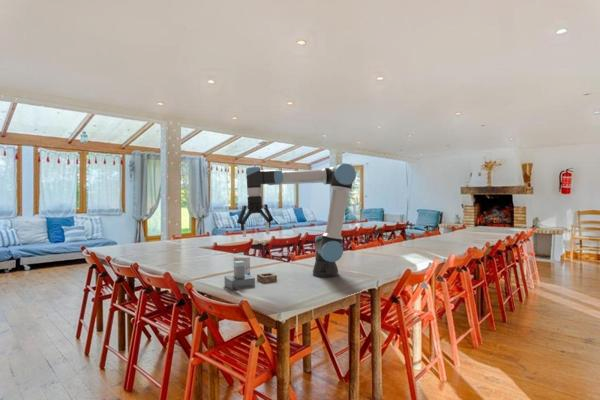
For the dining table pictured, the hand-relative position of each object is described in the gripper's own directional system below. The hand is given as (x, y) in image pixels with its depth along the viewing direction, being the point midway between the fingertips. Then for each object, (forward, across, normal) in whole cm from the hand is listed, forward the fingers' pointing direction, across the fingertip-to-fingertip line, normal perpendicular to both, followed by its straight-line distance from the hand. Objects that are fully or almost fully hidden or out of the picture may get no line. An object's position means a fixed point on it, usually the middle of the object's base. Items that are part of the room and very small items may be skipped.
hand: (256, 235), depth 186 cm
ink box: (+26, +2, -18) cm, 32 cm away
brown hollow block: (+26, -5, +1) cm, 26 cm away
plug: (+24, +11, +1) cm, 27 cm away
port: (+25, +11, +1) cm, 28 cm away
